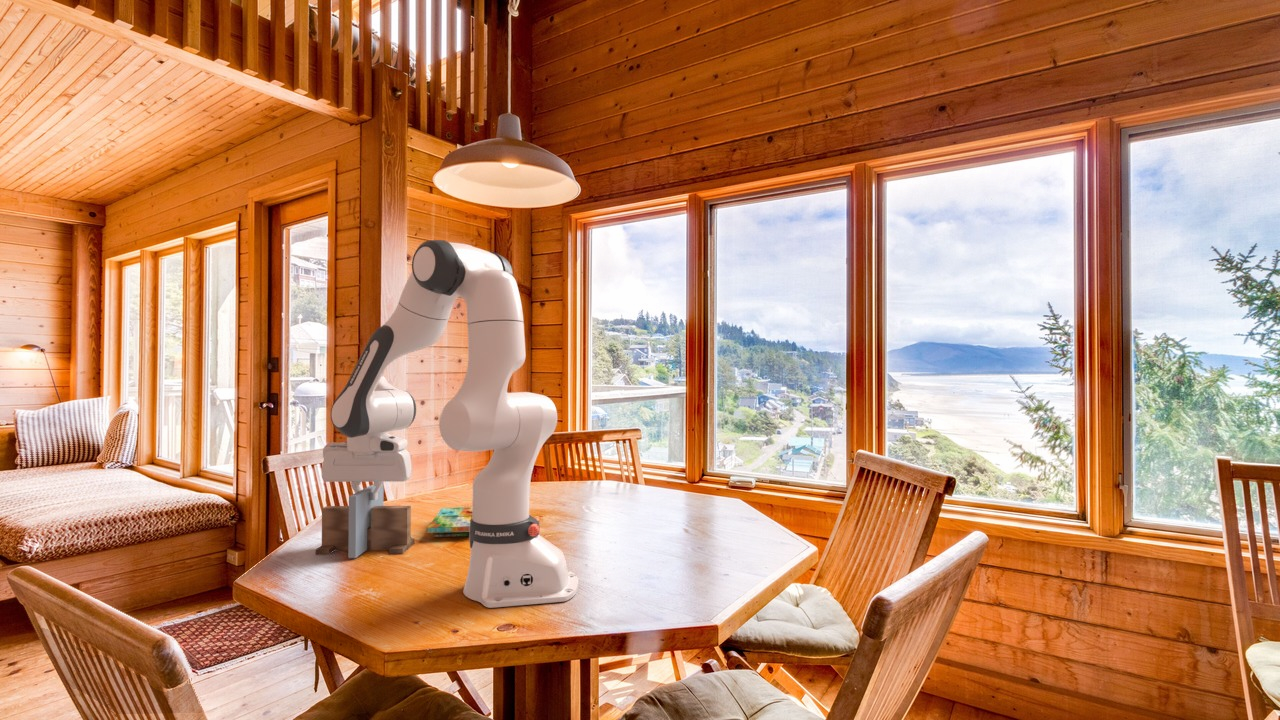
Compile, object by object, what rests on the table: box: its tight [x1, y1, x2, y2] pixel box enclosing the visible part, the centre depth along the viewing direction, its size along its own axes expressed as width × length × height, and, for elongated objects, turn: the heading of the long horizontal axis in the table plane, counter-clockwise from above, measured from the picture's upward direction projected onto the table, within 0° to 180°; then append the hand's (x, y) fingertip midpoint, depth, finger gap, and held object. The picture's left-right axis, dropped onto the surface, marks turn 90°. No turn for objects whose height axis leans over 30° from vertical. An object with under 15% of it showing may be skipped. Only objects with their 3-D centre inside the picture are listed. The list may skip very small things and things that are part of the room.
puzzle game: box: [426, 506, 473, 538], centre depth 160 cm, size 12×5×20 cm
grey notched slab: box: [347, 482, 385, 559], centre depth 143 cm, size 16×2×14 cm, turn 2°
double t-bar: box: [315, 505, 415, 555], centre depth 143 cm, size 20×8×10 cm, turn 92°
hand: (366, 499), depth 143 cm, fingers closed on grey notched slab, 2 cm apart
